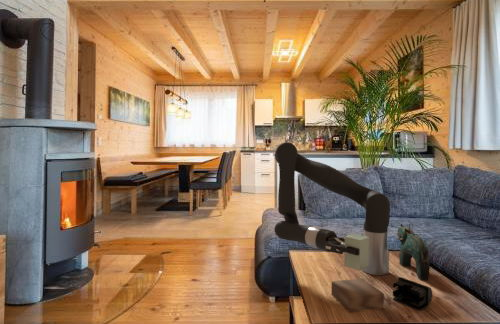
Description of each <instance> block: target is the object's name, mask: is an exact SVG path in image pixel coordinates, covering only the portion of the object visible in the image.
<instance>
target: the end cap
mask: <svg viewBox="0 0 500 324" xmlns="http://www.w3.org/2000/svg"><path fill="white" fill-rule="evenodd" d="M392 288H393V289H394V288H396V289H394V290H392V296H393V301H395V302H398V303H400V304H402V305H404V306H407V307H409V308H412V309H415V310H416V311H420V312H421V311H422V310H425V309H427V307H428V306H429V305H430V304H431V302H432V299H433V289H432V288H431V287H430V286H427V285H425V284H421V283H418V282H416V281H413V280H410V279H407V278H404V277H401V276H398V278H397V281H395V282H393V283H392Z"/></svg>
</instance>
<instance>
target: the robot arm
mask: <svg viewBox="0 0 500 324" xmlns="http://www.w3.org/2000/svg"><path fill="white" fill-rule="evenodd" d="M274 159H275V161H276V163H278V168H279V169H278V170H279V178H278V179H279V180H278V181H279V182H278V195H277V196H278V198H277V201H278V202H277V207H278V208H277V210H278V214H279V215H281V216H283V217H284V220H281V221H279V222H276V224H275V225H274V230H273V231H274V233H275V236H276V237H278V239H280V240H284V241H292V242H297V243H301V244H304V245H307V246H310V247H312V248H314V249H317V250H318V249H319V250H321V251H325V252H327V253H335V254H339V255H343V254H344V253H350V254H353V255H357V256H358V255H359V249H358V248H355V247H351V246H348V245H345V237H344V236H337V233H336V232H335V231H334V230H331V229H326V228H322V227H317V226H311V225H306V224H300V223H299V219H298V215H297V212H296V189H295V186H296V185H295V172H297V173H299V174H300V175H303V176H304V177H306V178H307V179H309V180H310V181H312V182H314V183H315V184H316V185H318V186H320V187H323V188H324V189H326V190H328V191H330V192H332V193H335V194H337V195H340V196H343V197H346V198H347V199H350V200H352V201H353V202H355V203H357V204H358V205H359V206H361V207H362V208H364V209H365V221H364V222H363V233H362V235H363V236H367V237H369V256H368V267H366V268H364V269H362V271H363V272H364V273H366V274H369V275H373V276H385V275H387V274H390V250H389V249H388V228H389V226H390V217H391V216H390V215H391V214H390V213H391V203H390V200H389V198H388V197H387V196H386V194H384V193H382V192H380V191H377V190H374V189H372V188H370V187H366V186H364V185H362V184H360V183H358V182H356V181H355V180H353V179H352V178H350V177H349V175H348V176H347V174H345V173H343V172H342V171H340V170H338V169H337V168H334V167H332V166H330V165H328V164H326V163H323V162H319V161H315V160H312V159H309V158H307V157H305V156H303V155H301V154H300V153H299V152H298V149H297V147H296V145H295V144H294V143H292V142H290V141H284V142H282V143H280V144H278V146H277V147H276V150H275V153H274Z"/></svg>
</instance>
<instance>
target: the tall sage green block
mask: <svg viewBox="0 0 500 324" xmlns="http://www.w3.org/2000/svg"><path fill="white" fill-rule="evenodd" d="M344 238H345V245H348V246H351V247H355V248H358V249H359V255H358V256H357V255H353V254H350V253H343V254H344V256H343V263H344V264H343V266H344V267H346V268H350V269H352V270H356V271H360V272H361V271H363V269H364V268H366V267H368V256H369V237H367V236H363V234H359V233H350V234H348V235H345V236H344Z"/></svg>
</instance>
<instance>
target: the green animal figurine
mask: <svg viewBox="0 0 500 324" xmlns="http://www.w3.org/2000/svg"><path fill="white" fill-rule="evenodd" d="M408 225H409V226H404V225H403V224H402V223H400V226H399V228H397V236H396V237H397V239H398V241H399V242H400V247H399V255H398V257H399V265H400V266H402V267H406V268H407V267H412V258H413V260H414V262H415V266H416V267H415V268H416V276H417V279H418V280H420V281H425V282H426V281H429V277H430V270H431V269H430V267H431V263H430V254H429V249H428V246H427V244H426V242H425V240H424V239H423V238H422V237H421V236H420V235H419V234H418V233H414V230H413V229H412V228H414V225H413V223H412V222H409V223H408ZM410 226H412V227H410Z"/></svg>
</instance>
